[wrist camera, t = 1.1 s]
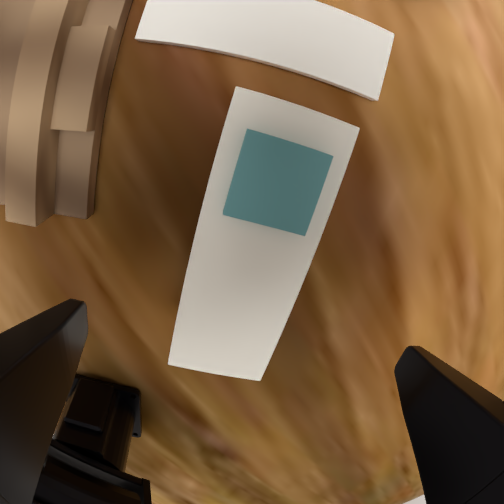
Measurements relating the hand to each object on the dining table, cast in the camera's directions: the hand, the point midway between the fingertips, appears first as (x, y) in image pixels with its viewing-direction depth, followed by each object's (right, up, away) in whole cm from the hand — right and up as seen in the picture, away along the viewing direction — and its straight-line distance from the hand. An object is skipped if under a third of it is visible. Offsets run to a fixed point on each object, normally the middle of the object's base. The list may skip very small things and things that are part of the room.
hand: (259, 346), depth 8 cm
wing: (+1, +13, +5) cm, 14 cm away
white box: (-1, +4, +9) cm, 10 cm away
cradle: (-14, +13, +3) cm, 19 cm away
